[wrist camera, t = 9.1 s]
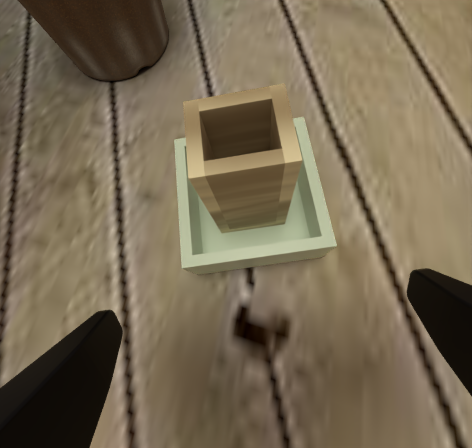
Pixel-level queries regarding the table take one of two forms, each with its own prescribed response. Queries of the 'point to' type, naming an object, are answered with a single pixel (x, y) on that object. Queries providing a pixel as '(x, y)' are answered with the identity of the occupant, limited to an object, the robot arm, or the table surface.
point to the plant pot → (105, 33)
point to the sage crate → (259, 239)
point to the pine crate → (243, 156)
